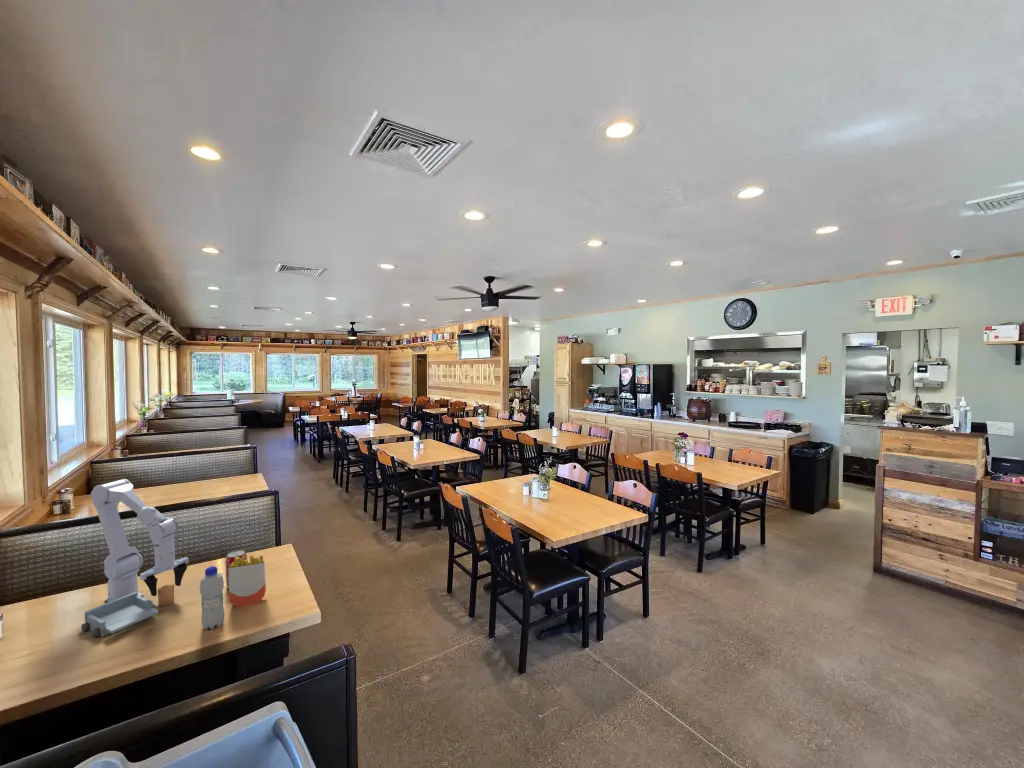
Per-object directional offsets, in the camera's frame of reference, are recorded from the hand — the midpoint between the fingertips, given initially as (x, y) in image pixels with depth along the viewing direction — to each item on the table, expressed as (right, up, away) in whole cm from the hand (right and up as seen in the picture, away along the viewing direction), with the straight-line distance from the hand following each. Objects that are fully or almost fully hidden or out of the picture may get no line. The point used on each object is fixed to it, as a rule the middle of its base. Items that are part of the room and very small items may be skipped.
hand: (166, 590), depth 159 cm
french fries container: (+30, -5, 0) cm, 30 cm away
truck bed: (-7, -5, -11) cm, 14 cm away
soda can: (+18, -4, +13) cm, 22 cm away
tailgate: (-1, -3, -14) cm, 14 cm away
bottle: (+27, -6, -13) cm, 30 cm away
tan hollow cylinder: (0, -5, 0) cm, 5 cm away
